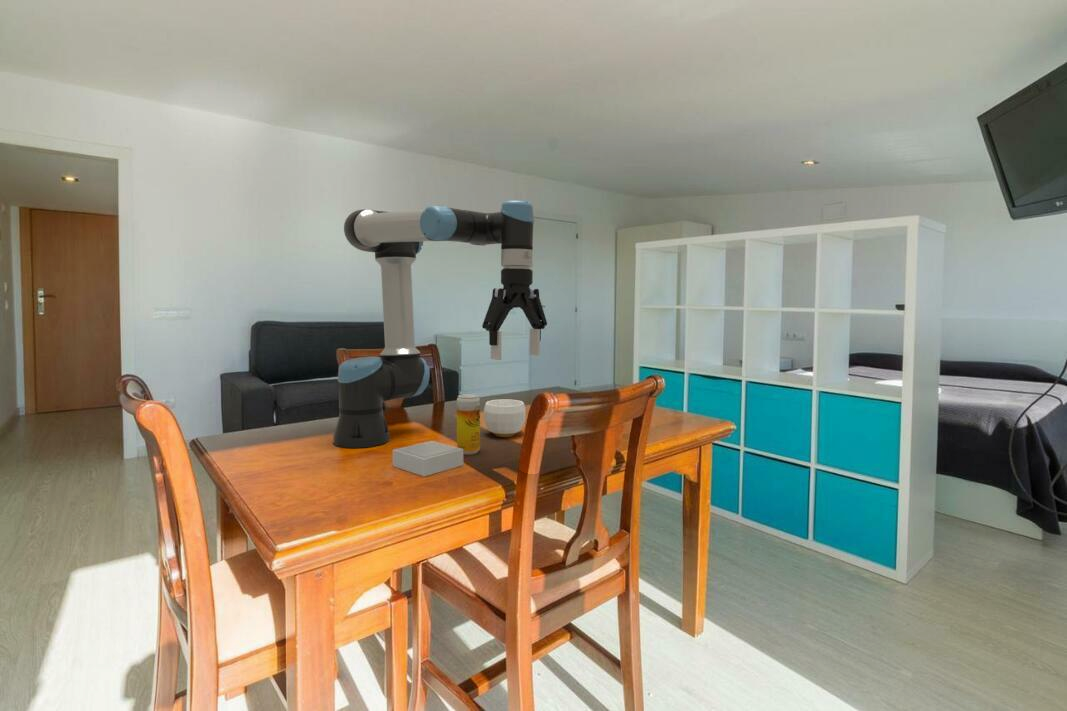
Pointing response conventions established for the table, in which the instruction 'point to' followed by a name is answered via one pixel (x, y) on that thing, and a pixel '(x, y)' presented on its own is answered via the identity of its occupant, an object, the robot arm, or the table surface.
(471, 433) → the yellow labeled bottle
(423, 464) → the pedestal
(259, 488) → the table surface
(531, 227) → the robot arm
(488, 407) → the cup
